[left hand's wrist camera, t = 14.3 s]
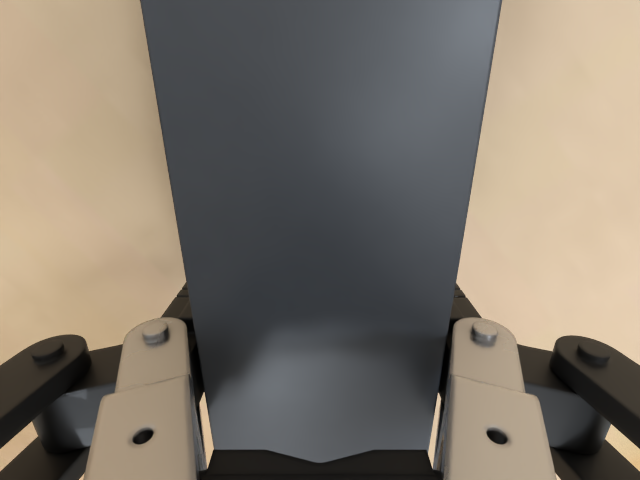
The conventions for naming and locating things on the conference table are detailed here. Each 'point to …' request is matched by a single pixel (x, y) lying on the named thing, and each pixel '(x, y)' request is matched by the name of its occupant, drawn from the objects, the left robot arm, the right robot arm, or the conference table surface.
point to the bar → (321, 207)
